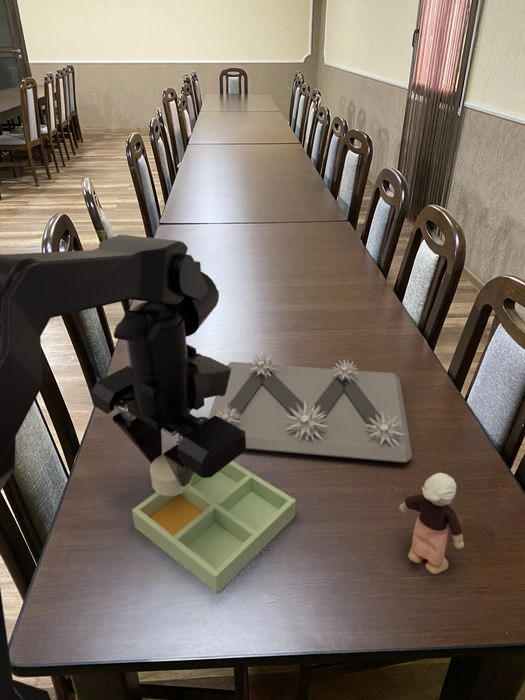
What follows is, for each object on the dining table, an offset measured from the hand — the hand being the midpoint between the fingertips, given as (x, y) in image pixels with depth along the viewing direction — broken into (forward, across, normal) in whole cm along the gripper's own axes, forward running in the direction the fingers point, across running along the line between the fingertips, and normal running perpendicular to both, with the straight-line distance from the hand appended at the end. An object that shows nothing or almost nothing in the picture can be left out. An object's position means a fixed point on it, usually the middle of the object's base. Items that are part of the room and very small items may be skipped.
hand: (171, 474), depth 62 cm
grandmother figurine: (+9, -25, -16) cm, 31 cm away
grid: (+9, -3, -4) cm, 10 cm away
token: (+1, 0, 0) cm, 1 cm away
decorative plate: (+9, +1, -28) cm, 30 cm away
